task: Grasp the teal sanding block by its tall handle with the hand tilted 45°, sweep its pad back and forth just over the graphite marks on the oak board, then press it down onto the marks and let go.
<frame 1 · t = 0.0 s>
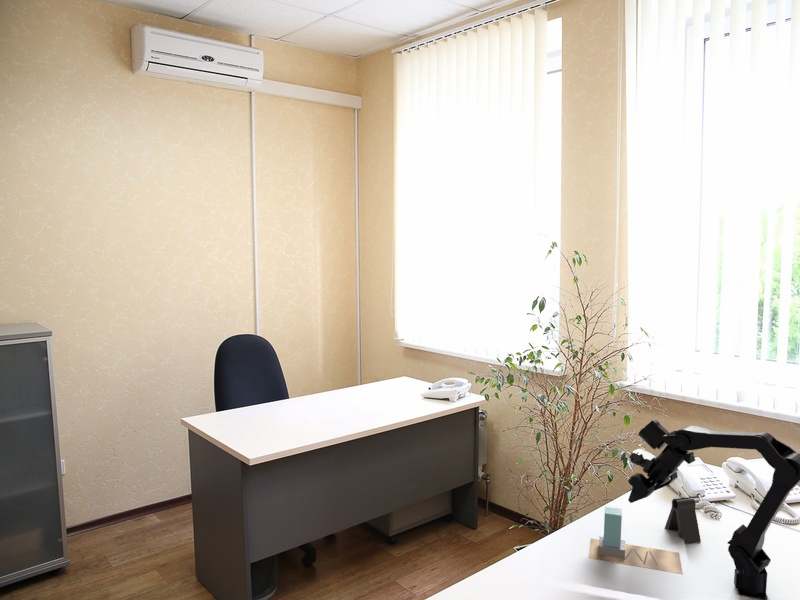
hand: (637, 497, 180), 15 cm above the table, tool tilted 35°, fingers open, 9 cm apart
oak board: (634, 560, 173), on the table
phone stand: (681, 537, 187), on the table
sanding block: (611, 551, 175), point 1 cm above the table, touching oak board
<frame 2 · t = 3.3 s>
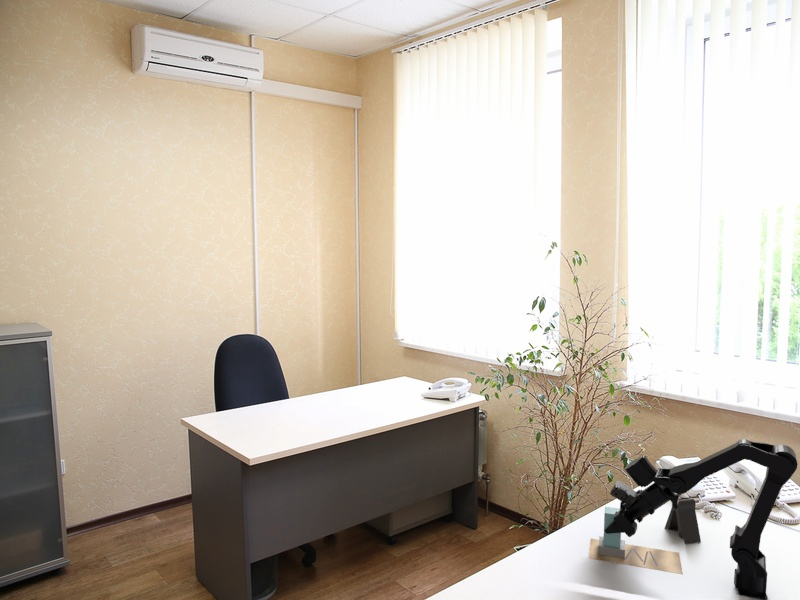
hand: (607, 528, 175), 8 cm above the table, tool tilted 45°, fingers closed on sanding block, 5 cm apart
sanding block: (611, 551, 175), point 2 cm above the table, touching gripper, oak board
everything else where it was.
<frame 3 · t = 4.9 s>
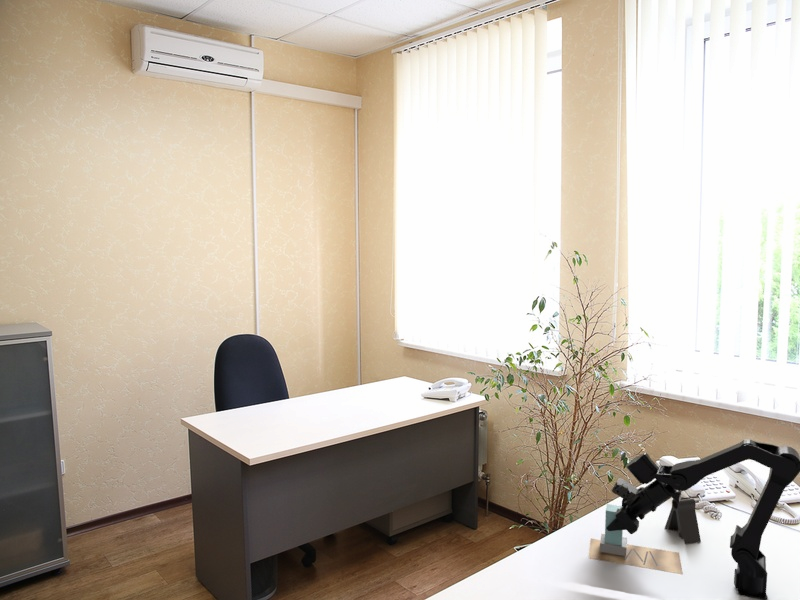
hand: (609, 525, 175), 9 cm above the table, tool tilted 45°, fingers closed on sanding block, 5 cm apart
sanding block: (613, 548, 175), point 2 cm above the table, touching gripper
everything else where it was.
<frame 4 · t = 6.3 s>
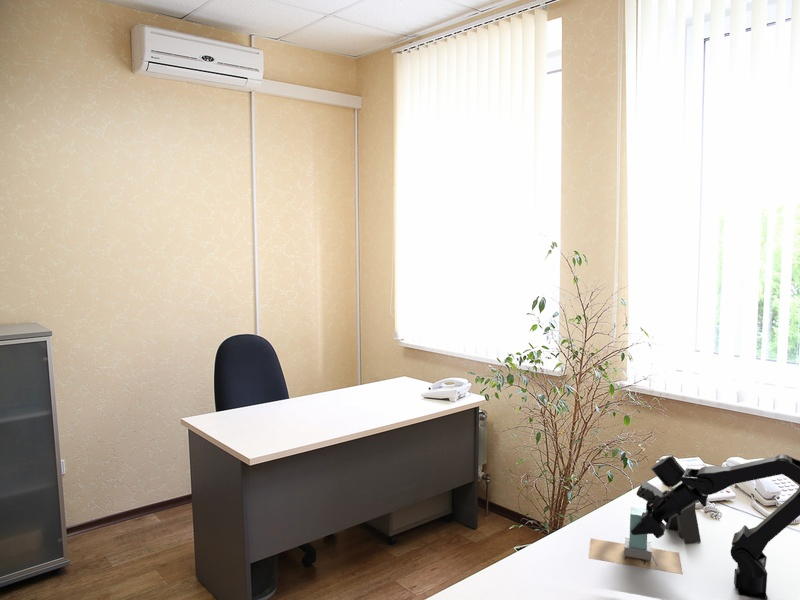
hand: (633, 529, 173), 9 cm above the table, tool tilted 45°, fingers closed on sanding block, 5 cm apart
sanding block: (637, 552, 173), point 2 cm above the table, touching gripper
everything else where it was.
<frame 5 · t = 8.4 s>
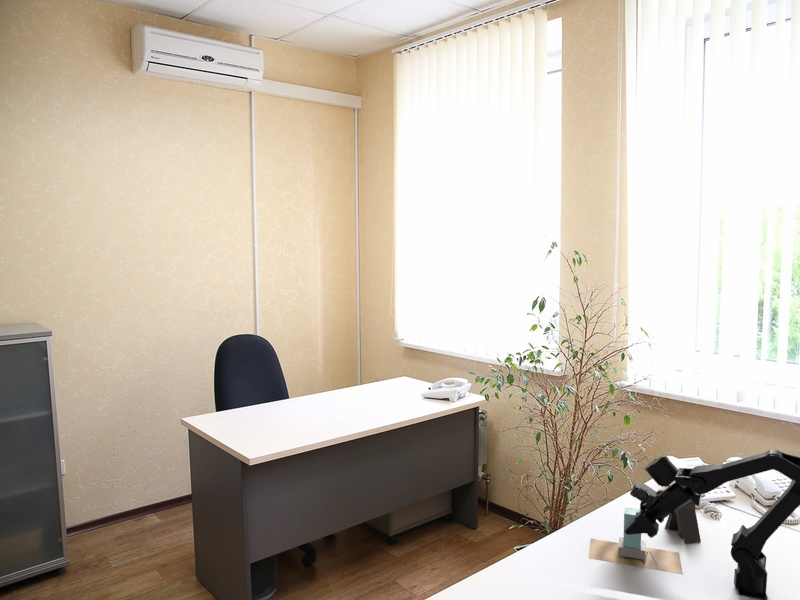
hand: (627, 529, 173), 9 cm above the table, tool tilted 45°, fingers closed on sanding block, 5 cm apart
sanding block: (631, 552, 173), point 2 cm above the table, touching gripper
everything else where it was.
when the fingers open (8 cm above the table, at t = 9.5 s): sanding block stays where it is, resting on oak board.
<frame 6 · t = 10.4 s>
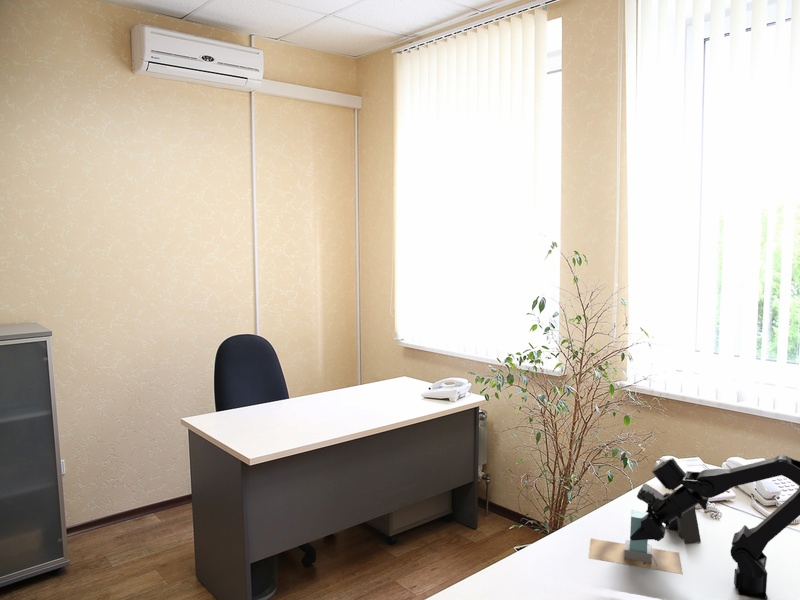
hand: (633, 531, 173), 8 cm above the table, tool tilted 45°, fingers open, 9 cm apart
sanding block: (638, 555, 173), point 2 cm above the table, touching oak board
everything else where it was.
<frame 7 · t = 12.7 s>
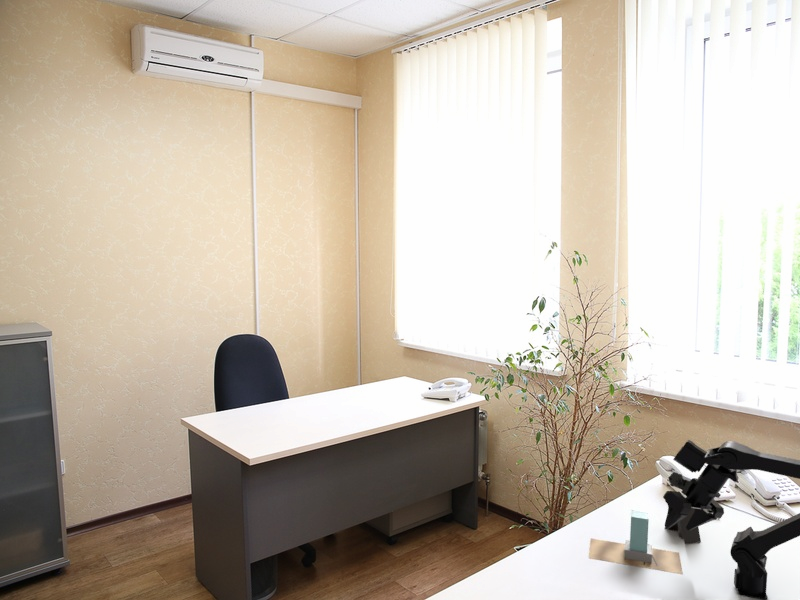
hand: (676, 528, 166), 12 cm above the table, tool tilted 25°, fingers open, 9 cm apart
nothing on the table moved.
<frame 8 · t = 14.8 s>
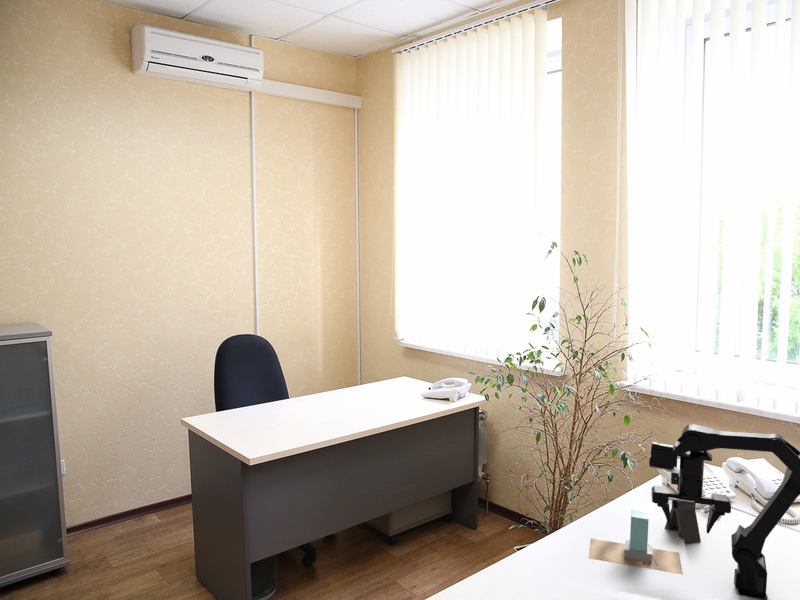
hand: (688, 529, 164), 13 cm above the table, tool pointing down, fingers open, 9 cm apart
nothing on the table moved.
at the end: sanding block inside the target area (0.1 cm from its centre), point 1.5 cm above the table; sanding block tilted 0°; the gripper is holding nothing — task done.
